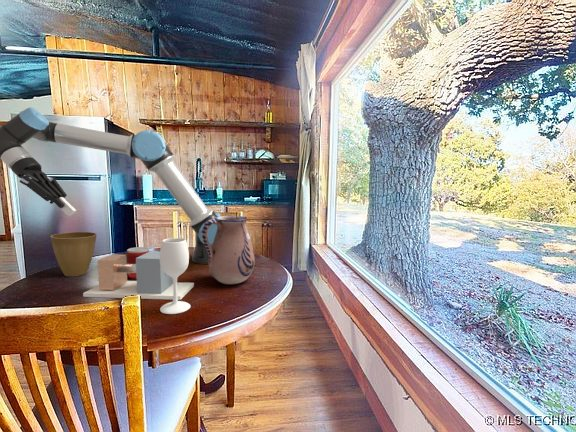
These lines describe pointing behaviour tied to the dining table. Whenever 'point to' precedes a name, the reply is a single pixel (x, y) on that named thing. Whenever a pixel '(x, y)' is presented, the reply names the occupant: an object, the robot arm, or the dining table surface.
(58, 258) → the plant pot
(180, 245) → the wineglass
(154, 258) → the bearing block
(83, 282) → the dining table surface
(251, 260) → the ceramic pitcher
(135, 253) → the canned food
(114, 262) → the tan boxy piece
